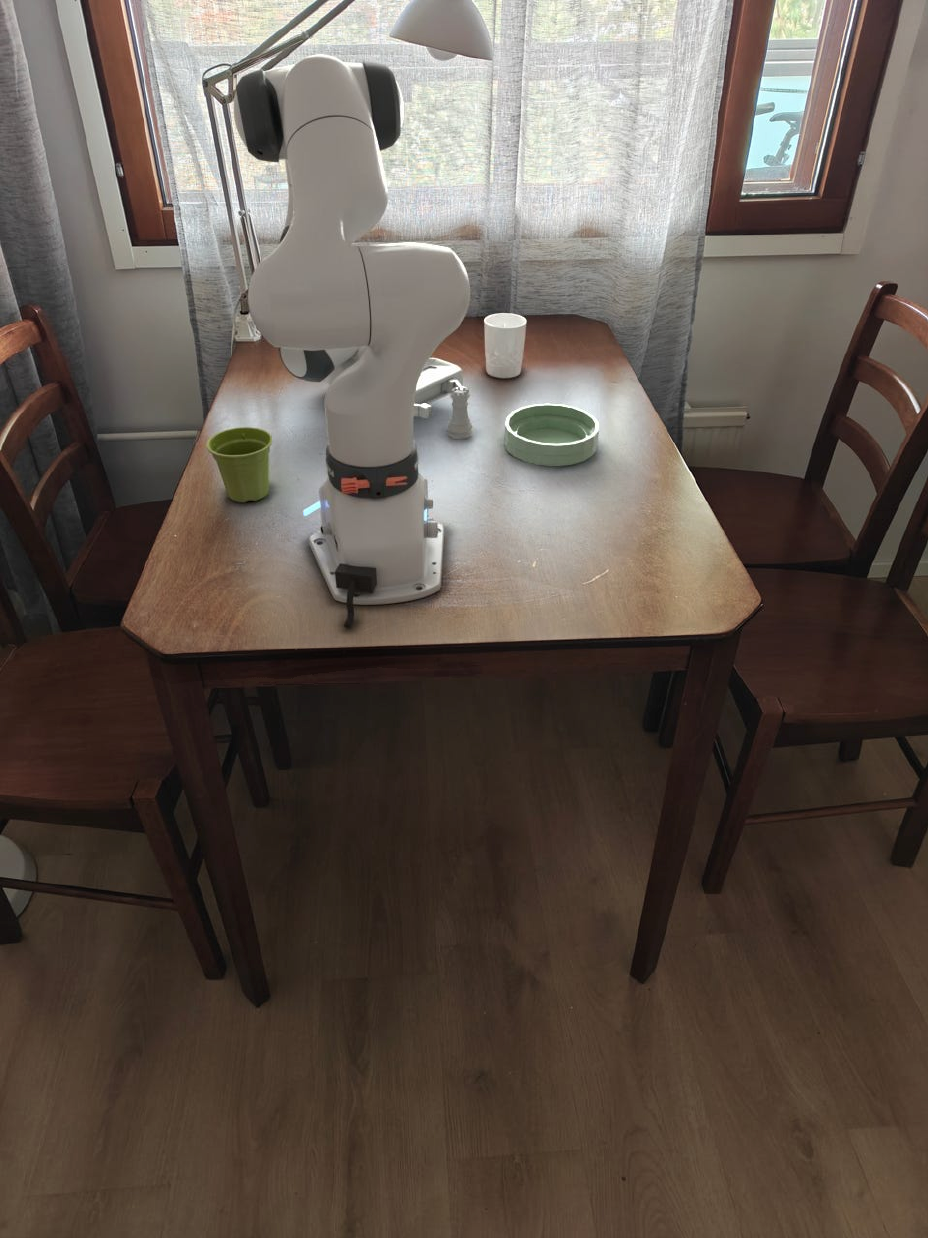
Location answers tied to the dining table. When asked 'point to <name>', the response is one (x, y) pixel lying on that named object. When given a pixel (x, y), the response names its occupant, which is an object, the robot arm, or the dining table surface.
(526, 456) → the bowl
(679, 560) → the dining table surface
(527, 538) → the dining table surface
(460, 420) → the rook chess piece
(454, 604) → the dining table surface
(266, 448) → the plant pot
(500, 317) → the white cup
